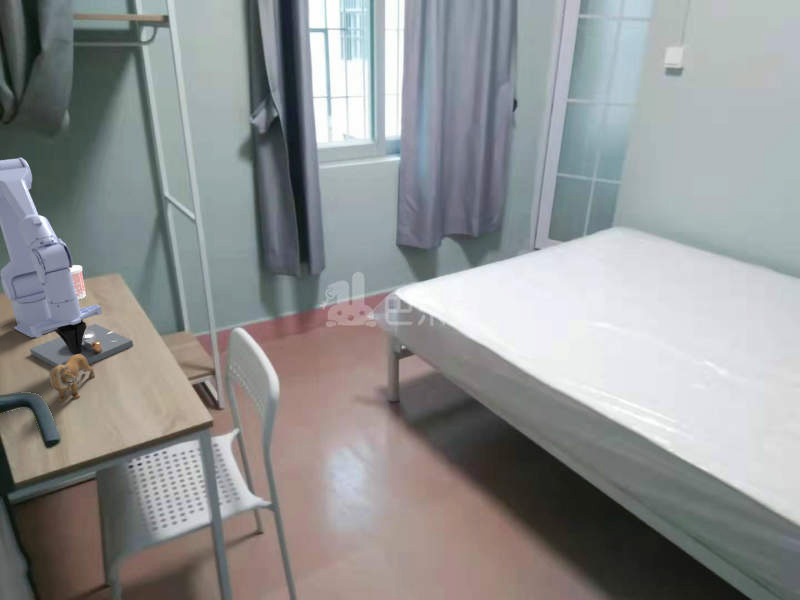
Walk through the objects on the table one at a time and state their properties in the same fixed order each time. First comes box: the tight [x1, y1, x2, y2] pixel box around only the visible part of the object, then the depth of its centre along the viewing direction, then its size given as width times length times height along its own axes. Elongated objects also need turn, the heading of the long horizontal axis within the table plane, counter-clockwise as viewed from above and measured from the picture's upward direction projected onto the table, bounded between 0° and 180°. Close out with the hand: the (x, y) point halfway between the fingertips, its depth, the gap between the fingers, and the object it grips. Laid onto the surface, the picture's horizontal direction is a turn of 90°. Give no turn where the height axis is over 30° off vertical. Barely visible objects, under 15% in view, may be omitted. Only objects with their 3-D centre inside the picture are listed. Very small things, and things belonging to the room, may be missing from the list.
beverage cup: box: [69, 264, 87, 301], centre depth 162 cm, size 6×6×14 cm
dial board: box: [29, 323, 134, 367], centre depth 136 cm, size 16×16×2 cm
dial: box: [65, 330, 102, 353], centre depth 134 cm, size 11×6×2 cm, turn 56°
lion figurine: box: [49, 354, 96, 402], centre depth 119 cm, size 15×5×9 cm, turn 14°
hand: (76, 352), depth 129 cm, fingers closed
